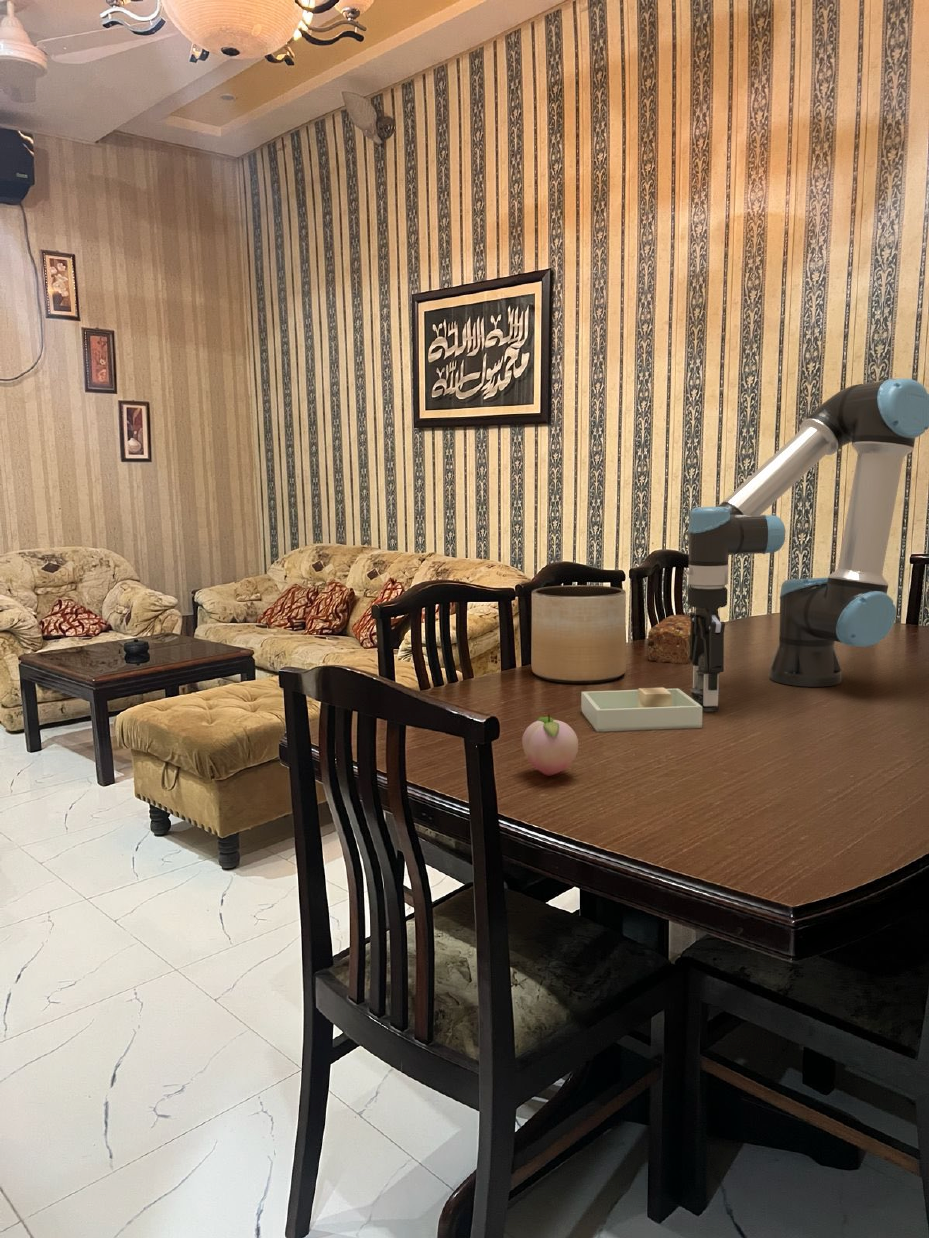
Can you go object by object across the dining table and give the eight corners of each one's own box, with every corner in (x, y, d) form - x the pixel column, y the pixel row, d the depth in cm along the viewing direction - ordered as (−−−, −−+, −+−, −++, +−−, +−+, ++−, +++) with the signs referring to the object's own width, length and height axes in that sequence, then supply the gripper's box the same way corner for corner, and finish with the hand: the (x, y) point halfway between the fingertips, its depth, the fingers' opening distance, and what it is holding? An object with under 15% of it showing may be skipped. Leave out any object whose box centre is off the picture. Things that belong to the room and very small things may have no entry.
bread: (665, 649, 242) (666, 612, 240) (705, 652, 237) (706, 614, 235) (645, 662, 225) (646, 622, 224) (688, 665, 221) (688, 625, 219)
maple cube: (663, 712, 175) (663, 687, 174) (670, 719, 170) (671, 693, 169) (638, 713, 175) (638, 688, 174) (644, 720, 170) (645, 694, 169)
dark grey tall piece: (721, 712, 176) (722, 652, 174) (690, 711, 177) (691, 651, 176) (719, 704, 182) (720, 646, 180) (689, 703, 183) (690, 646, 181)
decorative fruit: (587, 782, 138) (587, 718, 136) (537, 788, 135) (537, 723, 134) (563, 763, 146) (563, 704, 145) (516, 769, 144) (515, 708, 143)
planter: (617, 688, 198) (618, 598, 195) (520, 682, 205) (519, 595, 202) (632, 667, 219) (633, 585, 216) (543, 663, 226) (543, 584, 223)
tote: (678, 707, 180) (678, 688, 179) (701, 727, 166) (702, 706, 165) (581, 711, 179) (581, 691, 178) (596, 731, 164) (597, 710, 164)
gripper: (674, 581, 185) (672, 691, 188) (704, 592, 166) (701, 714, 170) (710, 580, 185) (707, 689, 189) (744, 591, 167) (740, 712, 170)
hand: (704, 701), depth 179 cm, fingers closed on dark grey tall piece, 6 cm apart
